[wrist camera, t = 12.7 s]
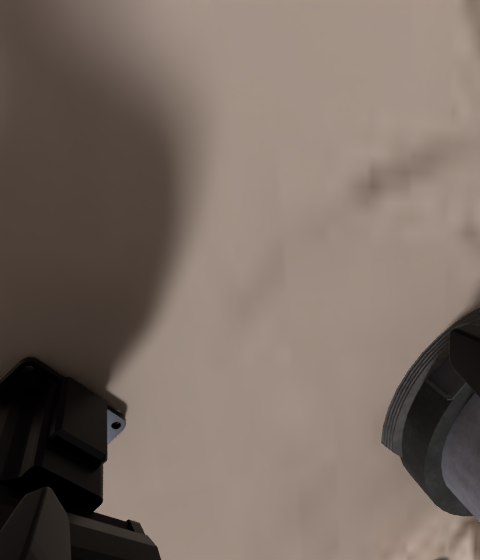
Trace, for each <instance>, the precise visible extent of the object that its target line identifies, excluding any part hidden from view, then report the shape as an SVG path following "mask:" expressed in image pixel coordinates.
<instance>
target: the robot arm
mask: <svg viewBox="0 0 480 560" xmlns="http://www.w3.org/2000/svg"><path fill="white" fill-rule="evenodd" d="M449 360H450V363H451V365H452V367H453V368H454V369H455V371H456V372H457V373H458V374H459V375H460V376H461V377H462V378H463V380H464V381H465V382H466V383H467V384H468V385H469V386H470V387H471V389H472V390H473V391H474V392H475V393H476V394H477V395H478V396H479V398H480V325H475V324H470V323H466V324H463V325H460V326H457V327H455V328H453V329H451V331H450V333H449ZM26 366H31V367H33V368H34V370H32V371H29V370H26V369H25V367H26ZM114 422H120V423H119V424H112V423H114ZM125 426H126V419H125V416H124V415H123V414H121V413H120V412H118V411H117V410H115V409H113V408H112V407H110V406H109V405H107V401H106V400H105V399H103V398H101V397H100V396H98V395H97V394H95V393H94V392H92V391H91V390H89V389H88V388H86V387H85V386H83V385H82V384H80V383H79V382H77V381H75V380H74V379H72V378H71V377H64V376H63V375H61V374H60V373H58V372H57V371H55V370H53V369H52V368H50V367H49V366H47V365H46V364H44V363H43V362H41V361H40V360H38V359H36V358H33V357H28V358H25V359H23V360H21V361H20V362H19V363H18V364H17V365H16V366H15V367H14V368H13V369H12V370H11V371H10V372H9V373H8V374H7V375H6V376H5V377H4V378H3V379H2V380H1V381H0V560H161V558H160V555H159V551H158V548H157V546H156V545H155V544H154V543H153V541H152V540H151V539H150V538H149V537H148V536H147V535H145V533H144V531H143V529H142V527H141V525H140V523H138V522H135V521H132V520H127V521H126V522H125V521H122V520H119V519H115V518H112V517H109V516H105V515H102V514H99V513H95V512H94V511H95V510H96V509H97V508H98V507H99V506H100V505H101V504H102V502H103V464H104V463H105V462H106V461H107V445H108V444H109V443H110V442H111V441H112V440H113V439H114V438H115V437H116V436H117V435H118V434H119V433H120V432H122V431H123V430H124V428H125Z"/></svg>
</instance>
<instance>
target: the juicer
mask: <svg viewBox="0 0 480 560" xmlns="http://www.w3.org/2000/svg"><path fill="white" fill-rule="evenodd" d="M466 323H470V324H475V325H480V308H479V309H477V310H474V311H473V312H471V313H470V314H468V315H467V316H465V317H463V318H462V319H460V320H459V321H457V322H456V323H454V324H453V325H452V326H451V327H449V328H448V329H447V330H446V331H445V332H443V333H442V334H441V335H440V336H438V337H437V338H436V339H435V340H434V341H433V342H432V343H431V344H430V345H429V347H428V348H427V349H426V350H425V351H424V352H423V353H422V354H421V355H420V356H419V358H418V359H417V360H416V361H415V363H414V364H413V365H412V367H411V368H410V369H409V370H408V372H407V374H406V375H405V377H404V378H403V380H402V382H401V383H400V385H399V387H398V388H397V390H396V392H395V395H394V397H393V399H392V401H391V404H390V406H389V408H388V411H387V415H386V418H385V422H384V425H383V432H382V440H381V443H382V444H383V445H384V446H386V447H387V448H389V449H390V450H391V451H392V452H394V453H395V454H397V455H399V456H400V458H401V460H402V463H403V466H404V467H405V468H406V470H407V471H408V472H409V474H410V475H411V476H412V477H413V478H414V480H415V481H416V482H417V483H418V484H419V486H420V487H421V488H422V489H423V490H424V492H425V493H426V494H427V495H428V496H429V498H430V499H431V500H432V501H433V502H434V504H436V505H437V506H438V507H439V508H440V509H442V510H443V511H446V512H448V513H450V514H453V515H459V516H474V517H475V518H476V519H477V520H478V521H479V522H480V398H479V396H478V395H477V394H476V393H475V392H474V391H473V390H472V389H471V387H470V386H469V385H468V384H467V383H466V382H465V381H464V380H463V378H462V377H461V376H460V375H459V374H458V373H457V372H456V371H455V369H454V368H453V367H452V365H451V363H450V360H449V333H450V331H451V329H453V328H455V327H457V326H460V325H463V324H466Z"/></svg>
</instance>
